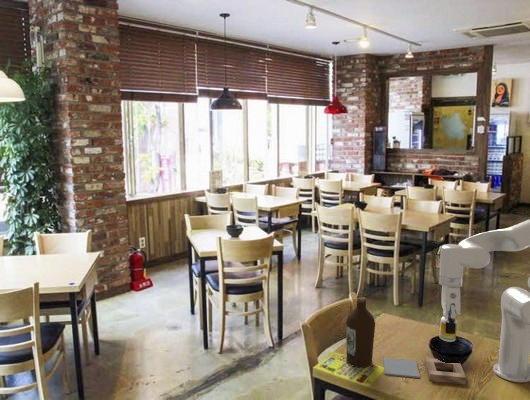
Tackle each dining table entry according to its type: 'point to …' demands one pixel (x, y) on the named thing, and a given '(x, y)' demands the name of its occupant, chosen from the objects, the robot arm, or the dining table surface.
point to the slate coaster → (400, 367)
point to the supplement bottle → (443, 334)
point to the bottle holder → (440, 376)
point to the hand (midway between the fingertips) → (448, 329)
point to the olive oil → (360, 335)
